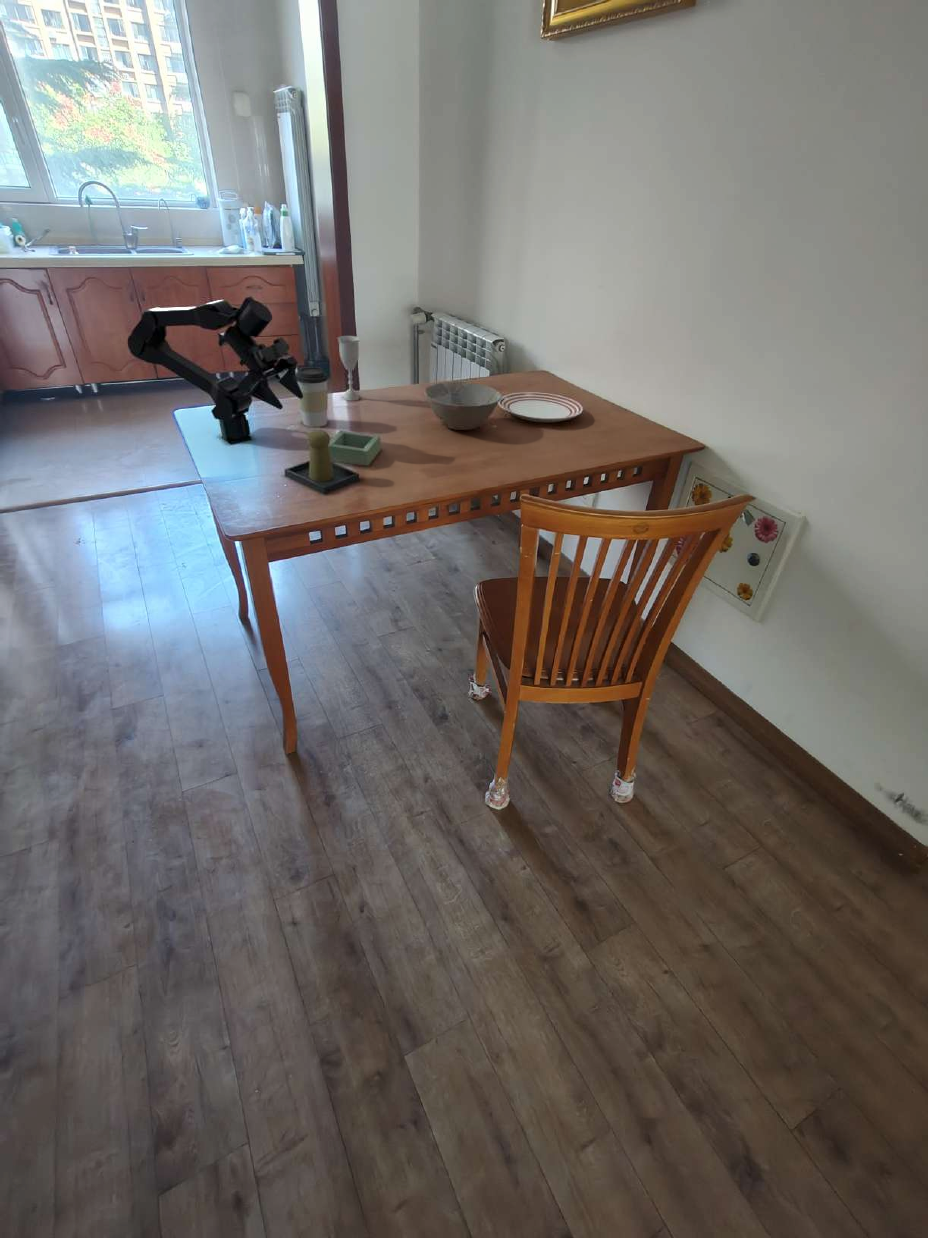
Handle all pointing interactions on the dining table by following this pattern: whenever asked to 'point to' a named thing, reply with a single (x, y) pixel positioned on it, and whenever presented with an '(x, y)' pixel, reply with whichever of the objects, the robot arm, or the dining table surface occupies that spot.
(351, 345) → the chalice
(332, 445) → the caddy
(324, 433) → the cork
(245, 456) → the dining table surface
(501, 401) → the dinner plate
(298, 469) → the tray
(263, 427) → the dining table surface
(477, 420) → the ceramic bowl
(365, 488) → the dining table surface
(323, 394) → the coffee cup
